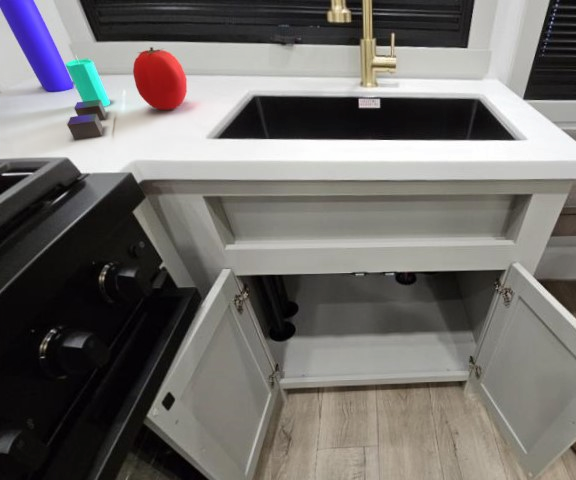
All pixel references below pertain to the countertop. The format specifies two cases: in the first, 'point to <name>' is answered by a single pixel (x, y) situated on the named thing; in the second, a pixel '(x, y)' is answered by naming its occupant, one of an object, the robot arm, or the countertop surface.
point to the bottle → (36, 44)
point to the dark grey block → (85, 126)
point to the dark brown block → (91, 108)
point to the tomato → (160, 79)
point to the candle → (87, 80)
